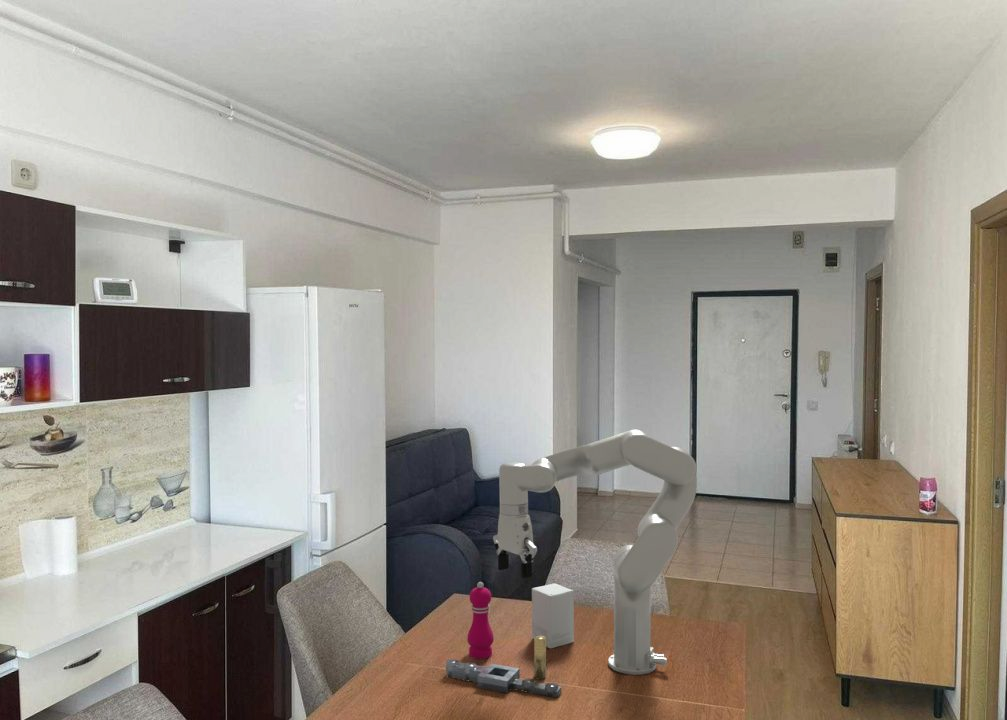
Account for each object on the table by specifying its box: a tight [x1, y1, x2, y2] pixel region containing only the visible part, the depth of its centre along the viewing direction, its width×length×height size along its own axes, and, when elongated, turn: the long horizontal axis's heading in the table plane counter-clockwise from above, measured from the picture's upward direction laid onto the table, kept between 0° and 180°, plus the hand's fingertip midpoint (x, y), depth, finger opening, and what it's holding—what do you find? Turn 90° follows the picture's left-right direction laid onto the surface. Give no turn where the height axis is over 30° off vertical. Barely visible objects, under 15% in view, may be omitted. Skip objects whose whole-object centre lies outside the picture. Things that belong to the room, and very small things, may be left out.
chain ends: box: [445, 658, 562, 699], centre depth 194 cm, size 31×8×4 cm, turn 67°
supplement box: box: [531, 582, 575, 649], centre depth 222 cm, size 9×9×15 cm
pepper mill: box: [466, 581, 495, 660], centre depth 212 cm, size 7×7×20 cm
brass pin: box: [533, 636, 547, 680], centre depth 198 cm, size 3×3×10 cm
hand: (514, 573), depth 207 cm, fingers open, 9 cm apart
